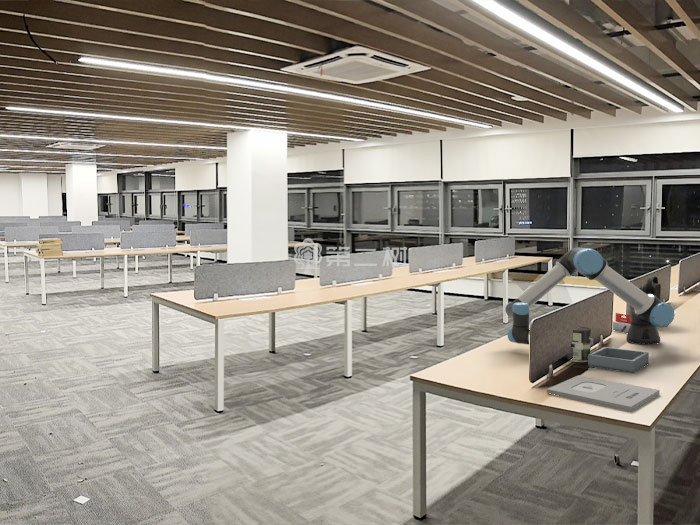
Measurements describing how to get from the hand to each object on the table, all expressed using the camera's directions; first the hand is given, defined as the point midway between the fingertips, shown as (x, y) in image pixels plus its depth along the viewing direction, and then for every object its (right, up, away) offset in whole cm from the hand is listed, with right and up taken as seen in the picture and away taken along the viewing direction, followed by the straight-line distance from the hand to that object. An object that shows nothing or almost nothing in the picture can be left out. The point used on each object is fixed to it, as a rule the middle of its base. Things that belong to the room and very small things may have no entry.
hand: (587, 344), depth 257 cm
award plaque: (-13, -12, -46) cm, 49 cm away
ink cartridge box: (+42, -2, +57) cm, 71 cm away
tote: (+10, -8, -8) cm, 15 cm away
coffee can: (-3, -8, +3) cm, 9 cm away
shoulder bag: (+66, 0, +74) cm, 99 cm away
